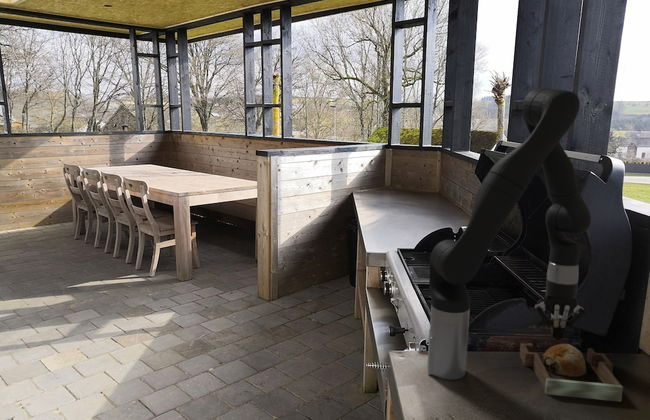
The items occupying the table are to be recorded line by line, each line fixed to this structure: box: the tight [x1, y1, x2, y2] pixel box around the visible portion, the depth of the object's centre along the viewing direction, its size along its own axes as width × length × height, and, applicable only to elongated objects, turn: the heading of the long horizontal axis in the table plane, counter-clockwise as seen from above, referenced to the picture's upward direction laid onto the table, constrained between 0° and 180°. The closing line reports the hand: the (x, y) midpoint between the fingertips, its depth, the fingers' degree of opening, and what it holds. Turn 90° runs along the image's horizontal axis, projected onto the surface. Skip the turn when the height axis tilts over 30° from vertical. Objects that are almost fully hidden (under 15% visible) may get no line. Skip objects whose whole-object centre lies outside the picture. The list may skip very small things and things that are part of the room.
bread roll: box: [542, 343, 587, 378], centre depth 124 cm, size 10×10×8 cm
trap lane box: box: [519, 342, 624, 403], centre depth 120 cm, size 20×20×4 cm
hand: (556, 339), depth 133 cm, fingers closed
